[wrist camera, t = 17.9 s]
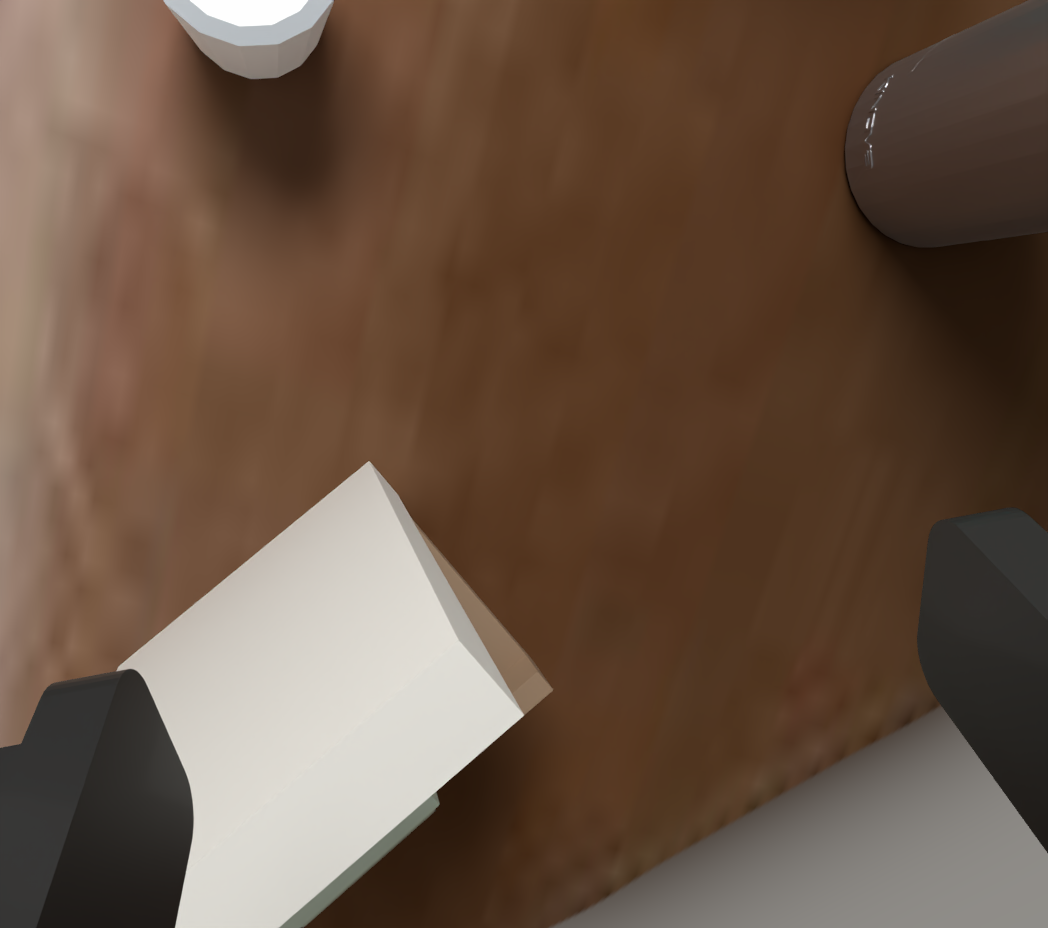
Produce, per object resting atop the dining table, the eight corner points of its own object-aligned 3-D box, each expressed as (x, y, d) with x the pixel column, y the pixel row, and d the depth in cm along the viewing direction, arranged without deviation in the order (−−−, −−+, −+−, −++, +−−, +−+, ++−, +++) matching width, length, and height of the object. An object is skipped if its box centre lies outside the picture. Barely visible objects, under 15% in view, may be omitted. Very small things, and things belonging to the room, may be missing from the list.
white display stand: (505, 621, 45) (755, 980, 20) (273, 819, 44) (229, 1467, 19) (369, 460, 43) (459, 640, 18) (119, 665, 41) (-169, 1173, 16)
